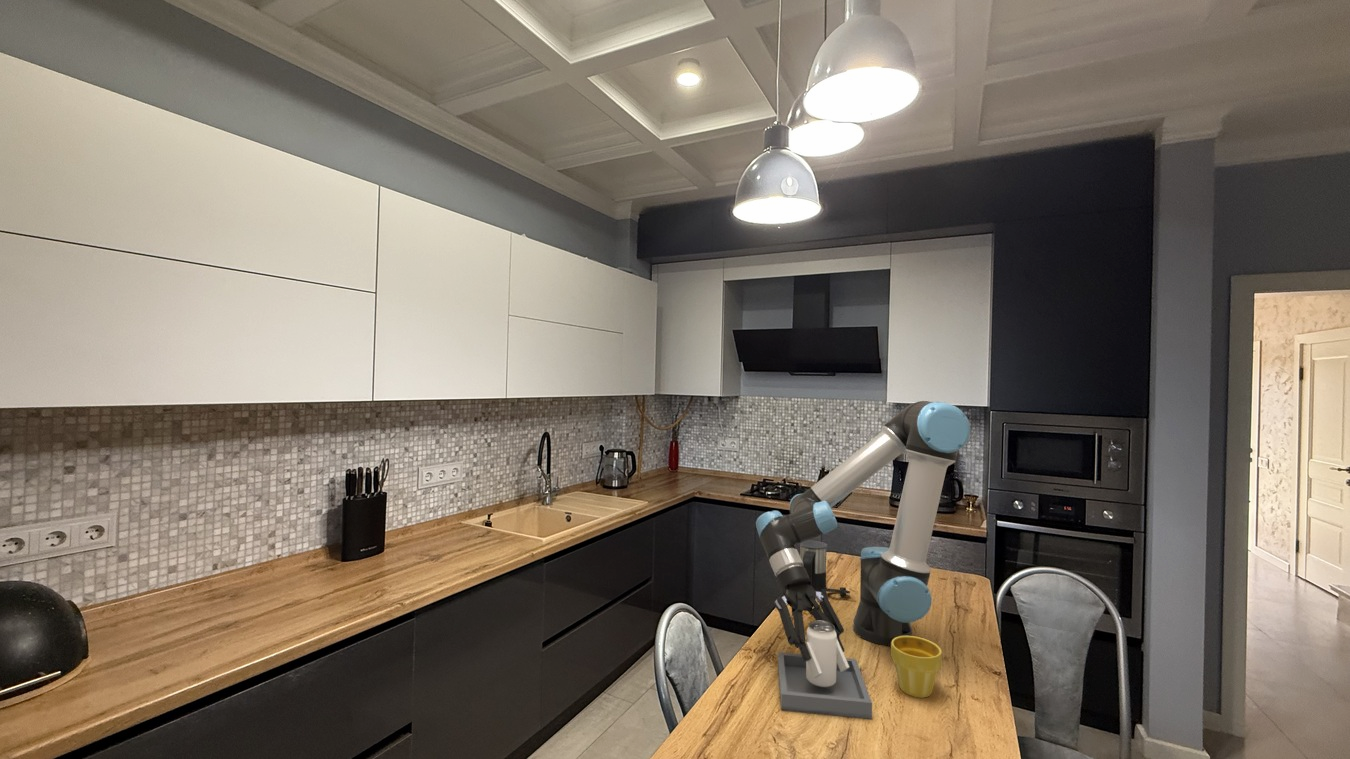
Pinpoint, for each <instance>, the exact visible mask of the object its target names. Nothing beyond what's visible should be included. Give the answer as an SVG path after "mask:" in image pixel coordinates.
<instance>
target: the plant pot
mask: <svg viewBox="0 0 1350 759" xmlns="http://www.w3.org/2000/svg"><path fill="white" fill-rule="evenodd" d="M890 656H891V659H892V660H893V662H894V665H895V670H896V676H897V682H898V686H899V688H900V690H901V691H902V692H903V693H904V694H907V695H909V696H911V697H915V698H921V699H923V698H924V699H925V698H928V697H930V696H931V695H932V693H933V690H934V685H935V681H936V678H937V673H938V671H939V670H940V669H941V668H942V661H943V660H942V659H943V651H942V649H941V647H940V646H939V645H938V644H936V643H935V642H934V641H931V640H928V639H926V638H923V637H920V636H914V635H912V636H898V637H896V638H894V639H893V640H892V642H891V645H890Z"/></svg>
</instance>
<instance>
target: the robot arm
mask: <svg viewBox="0 0 1350 759" xmlns="http://www.w3.org/2000/svg"><path fill="white" fill-rule="evenodd" d="M970 436H971V426H970V421H969V419H968V417H967V416H966V414H965V413H964V412H963V410H962V409H960V408H958V407H957V406H955V405H953V404H950V403H947V402H943V401H929V400H928V401H926V400H922V401H916V402H914V403H911V404H909V405H908V406H906V407H905V408H903V409H902V410H901V411H899V412H898V413H897V414H896V415H895V416H894V417H892V418H891V419H890V420H888V422H886V423H885V424H884V425H883V426H882V427H881V432H879V434H877V435H876V436H874V437H873V438H872V439H870V440H869V441H868V442H867V443H866V444H865V445H863V446H862V447H860V448H859V449H858V450H857V451H856V452H854V453H853V454H852V455H850V456H849V457H848V458H847V459H845V460H844V461H843V462H841V463H840V464H839V465H838V466H837V467H835V468H834V469H832V470H831V471H830V472H829V473H827V474H825V476H823V477H822V478H821V479H820V480H818V481H817V482H816V483H815V484H814V485H812V486H811V487H810V488H808V489H807V490H806V491H804V492H803V493H798V494H796V495H793V497H791V499H790V502H789V506H788V507H789V514H786V515H783V514H782V512H780V511H779V510H771V511H766V512H764V513H762V514H761V515H760V516H758V518H757V519H756V521H755V527H756V529H757V533H758V537H759V539H760V542H761V545H762V546H763V549H764V552H765V554H766V556H767V559H768V560H769V565H770V566H771V568H772V572H773V573H774V576H775V577H776V583H777V585H778V588H779V590H780V592H781V593H782V596H778V598H776V600H775V601H774V603H773V604H774V607H775V608H776V610H777V611H778V613H779V617H780V621H781V622H782V624H781V625H782V627H783V629H784V633H785V637H786V640H787V643H788V645H789V646H793V645H794V647H795V648H796V649H798V650H799V652H800V654H801V655H802V657H803V660H804V661H807V662H808V665H809V668H810V670H811V673H812V675H813V678H817V677H818V676H819V675H821V674H822V671H821V669H820V666H819V664H818V661H817V659H816V656H815V654H814V651H813V649H812V647H811V644H810V642H807V639H806V632H805V625H804V624H805V622H804V614H803V612H804V611H805V612H808V614H809V615H811V616H812V617H813V618H814V620H815V621H817V620H819V621H826V622H829V623H831V624H833V625H834V626H835V632H836V634H837V664H838V667H839V669H840V671H841V672H844V671H845V670H847V669H848V668H849V665H848V663H847V660H846V658H847V657H846V656H845V651H846V650H845V648H844V645H843V643H842V640H841V638H840V636H841V634H842V633H844V632H845V629H844V627H843V625H842V622H841V621H840V619H839V617H838V615H837V614H836V611H835V610H834V608H833V606H832V604H831V602H830V601H829V596H828V592H827V591H824V590H823V591H822V592H816V591H815V590H814V589H813V587H812V586H811V582H810V578H809V576H808V574H807V571H806V569H805V568H804V567H803V566H804V564H803V562H802V560H801V557H800V552H799V551H798V549H797V547H796V545H798V544H799V543H802V542H804V541H807V540H812V539H815V538H818V537H819V536H823V535H826V534H828V533H829V532H831V531H833V530H835V529H837V527H838V521H837V519H836V517H835V514H834V512H833V509H832V508H833V507H834V506H836V505H837V503H839V502H840V501H842V500H843V499H844V498H846V497H847V496H848V495H849V494H851V493H852V492H854V491H855V490H856V489H858V487H860V486H862V485H863V484H864V483H865V482H867V481H868V480H869V479H871V477H873V476H874V475H875V474H877V473H878V472H879V471H880V470H882V469H883V468H885V467H886V466H888V465H889V464H890V463H891V462H893V461H894V460H895V459H896V458H898V457H899V456H900V455H902V454H904V455H908V456H909V461H908V465H907V468H906V474H905V479H904V484H903V488H902V491H901V496H900V501H899V505H898V510H897V514H896V517H895V518H896V519H895V523H894V527H893V532H892V536H891V539H890V540H891V541H890V544H889V547H886V546H867V547H864V548H862V550H861V552H860V558H859V560H860V578H859V579H860V593H859V594H860V595H859V596H860V597H859V598H860V599H859V600H860V601H859V604H858V607H857V609H856V612H855V615H854V618H853V624H852V625H853V632H854V633H855V634H856V635H858V637H860V638H862V639H863V640H866V641H868V642H871V643H873V644H878V645H884V646H891V642H892V640H893V639H894V638H896V637H898V636H913V628H912V625H911V623H913V622H917V621H919V620H921V619H923V618H924V617H926V615H927V614H928V612H929V611H930V610H931V606H932V602H933V601H932V594H931V591H930V588H929V587H928V585H929V580H930V576H931V572H932V570H931V568H930V566H929V565H928V563H927V557H928V552H929V548H930V544H931V539H932V535H933V530H934V526H935V521H936V517H937V512H938V508H939V504H940V499H941V495H942V490H943V486H944V481H945V477H946V473H947V469H948V467H949V466H951V465H953V464H954V463H956V462H957V456H958V452H959V450H960V449H962V448H963V447H964V446H965V445H966V444H967V443H968V440H969V439H970ZM799 545H800V544H799ZM788 606H790V607H791V613H790V610H789V607H788ZM791 616H792V617H793V620H792V617H791Z"/></svg>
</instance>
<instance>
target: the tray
mask: <svg viewBox="0 0 1350 759" xmlns="http://www.w3.org/2000/svg"><path fill="white" fill-rule="evenodd" d="M845 658H846V660H847V663H848V665H849V668H848V669H847V670H845V671H844V672H841V671H840V669H839V667H838V664H837V667H836V683H835V684H834V685H833V686H831V687H818V686H815V685H813V684H811V683H810V682H809V681H808V679H807V678H806V661H804V660H803V657H802V655H801V653H791V652H780V651H778V652H777V670H778V685H779V696H780V708H781V711H788V712H798V713H806V714H817V715H826V716H837V717H847V718H857V719H865V720H872V718H873V711H872V710H873V703H872V702H873V701H872V698H871V697H870V694H869V691H868V688H867V686H866V682H865V680H864V677H863V674H862V672H861V670H860V666H859V664H858V660H857V658H849V657H845Z"/></svg>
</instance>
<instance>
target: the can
mask: <svg viewBox="0 0 1350 759" xmlns="http://www.w3.org/2000/svg"><path fill="white" fill-rule="evenodd" d="M806 642H810V644H811V647H812V649H813V651H814V654H815V656H816V659H817V661H818V664H819V666H820V669H821V671H822V674H821V675H819V676H818V677H817V678H813V675H812V673H811V670H810V668H809V665H808V662H807V661H806V678H807V679H808V681H809V682H810V683H811V684H813V685H815V686H818V687H831V686H833V685H834V684H835V683H836V667H837V634H836V632H835V626H834V625H833V624H831V623H829V622H826V621H819V620H817V621H816V620H812V621H810V622H809V623H808V627H807V629H806Z"/></svg>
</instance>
